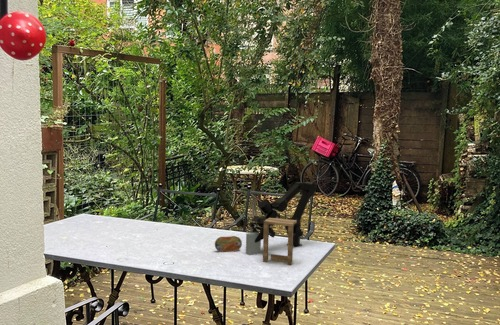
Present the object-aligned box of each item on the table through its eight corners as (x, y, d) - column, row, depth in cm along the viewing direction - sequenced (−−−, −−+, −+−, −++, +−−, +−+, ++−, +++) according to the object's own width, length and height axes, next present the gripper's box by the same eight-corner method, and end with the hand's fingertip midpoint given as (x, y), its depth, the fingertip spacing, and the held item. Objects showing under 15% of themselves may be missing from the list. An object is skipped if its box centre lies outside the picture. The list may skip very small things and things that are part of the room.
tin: (215, 252, 253) (215, 237, 252) (214, 251, 256) (214, 236, 255) (241, 251, 257) (242, 236, 256) (240, 249, 260) (240, 235, 259)
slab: (256, 251, 257) (256, 231, 256) (260, 252, 254) (260, 233, 253) (245, 253, 253) (246, 233, 252) (250, 254, 250) (250, 234, 249)
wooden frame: (268, 256, 247) (269, 217, 245) (295, 259, 242) (296, 220, 241) (262, 261, 238) (263, 221, 236) (291, 265, 233) (292, 223, 231)
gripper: (251, 207, 262) (234, 228, 256) (271, 213, 247) (254, 236, 241) (261, 219, 267) (246, 240, 261) (282, 225, 252) (266, 248, 246)
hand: (252, 241), depth 252 cm, fingers closed on slab, 4 cm apart
